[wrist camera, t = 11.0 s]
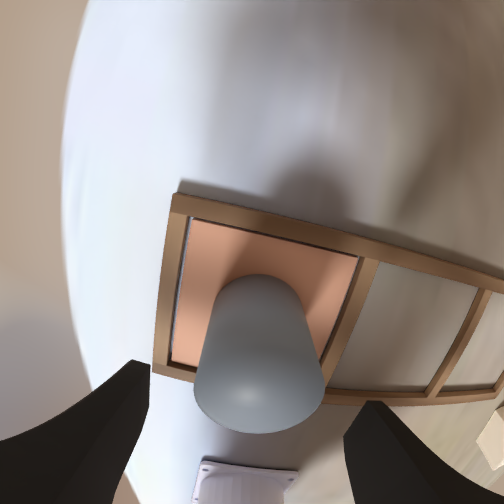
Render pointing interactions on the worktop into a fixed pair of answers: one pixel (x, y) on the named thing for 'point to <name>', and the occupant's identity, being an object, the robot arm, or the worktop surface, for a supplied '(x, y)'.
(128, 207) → the worktop surface
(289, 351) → the grey rounded cylinder
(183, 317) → the board
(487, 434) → the die
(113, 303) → the worktop surface
